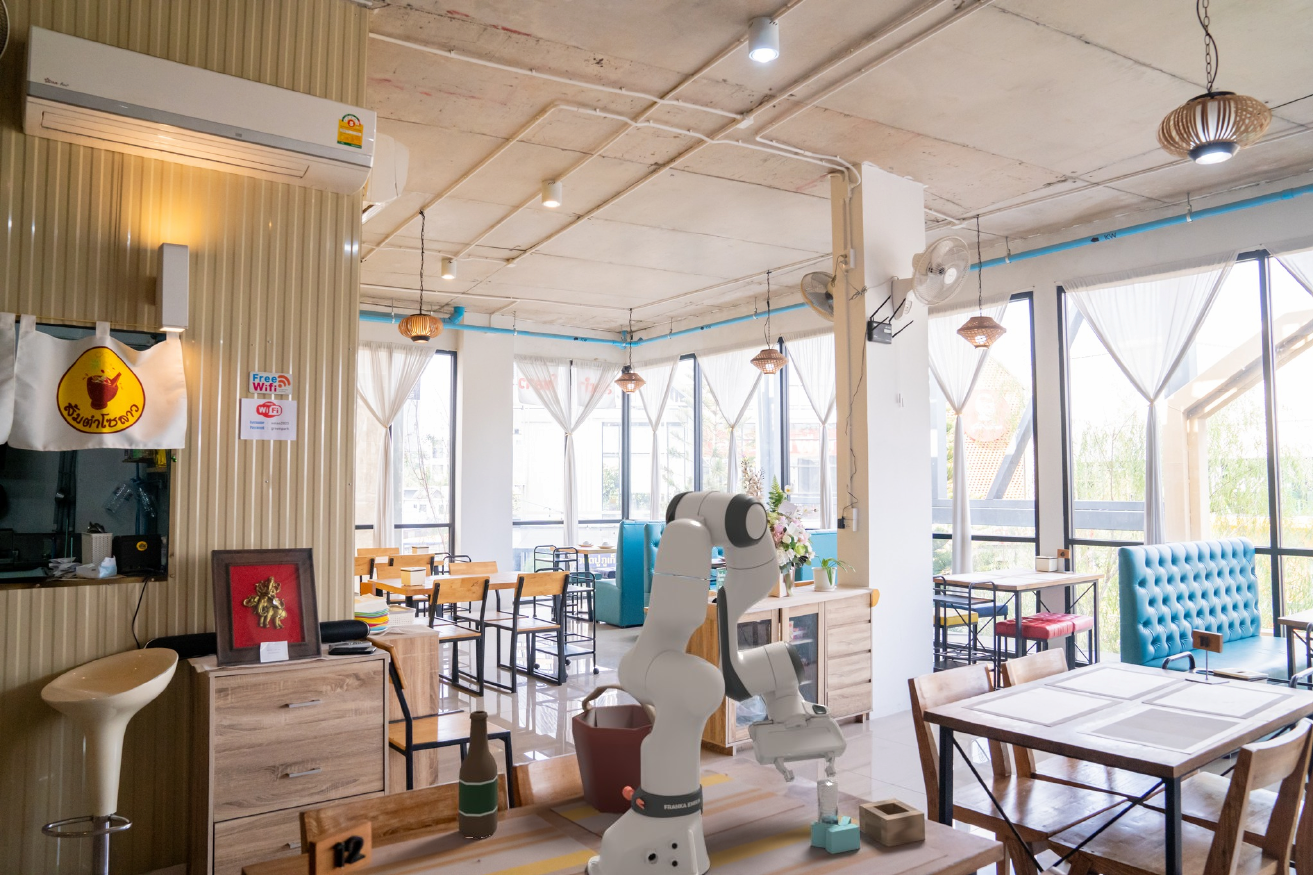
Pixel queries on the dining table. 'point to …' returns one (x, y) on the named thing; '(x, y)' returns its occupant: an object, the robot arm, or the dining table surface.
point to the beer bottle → (478, 783)
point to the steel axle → (827, 801)
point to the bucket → (610, 750)
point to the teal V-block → (836, 836)
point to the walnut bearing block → (892, 822)
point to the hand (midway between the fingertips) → (811, 778)
